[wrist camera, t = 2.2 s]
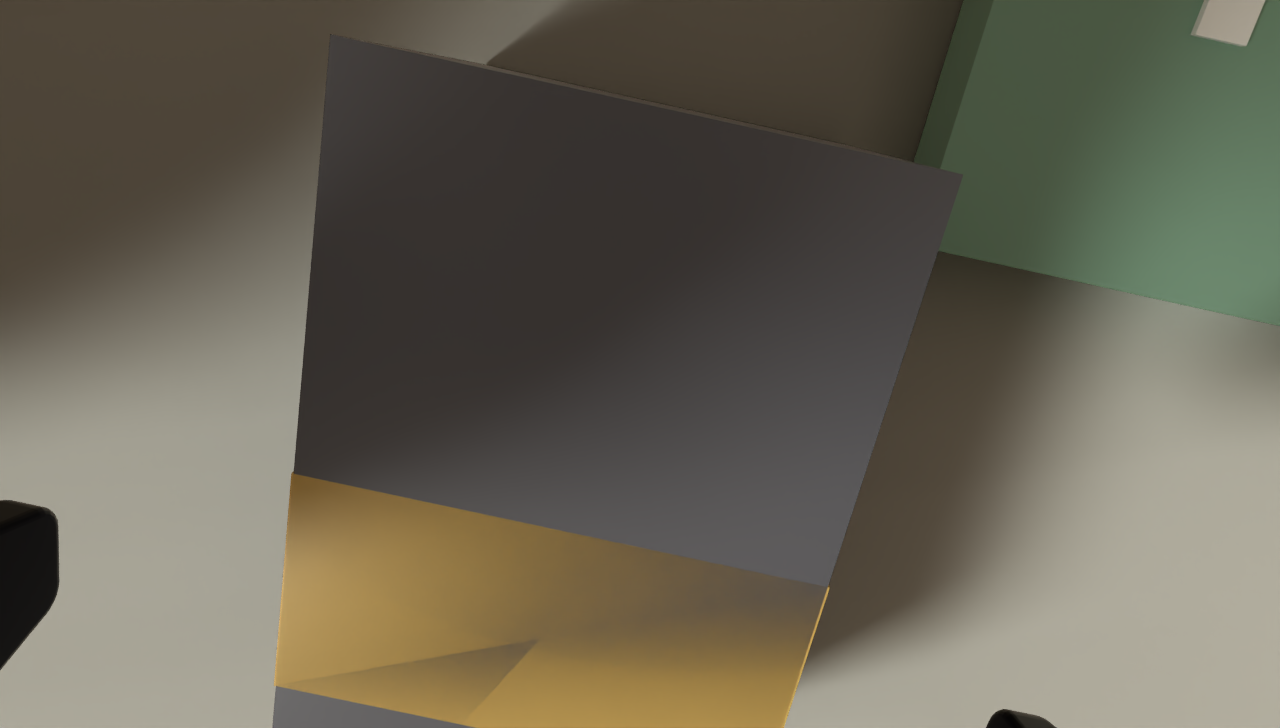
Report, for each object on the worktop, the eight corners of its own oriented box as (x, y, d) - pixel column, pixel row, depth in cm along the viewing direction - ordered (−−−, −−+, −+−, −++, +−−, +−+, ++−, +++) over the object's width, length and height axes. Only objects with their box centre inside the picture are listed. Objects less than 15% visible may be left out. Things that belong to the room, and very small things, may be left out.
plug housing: (397, 665, 14) (252, 952, 9) (481, 64, 11) (328, 32, 6) (681, 724, 14) (681, 1039, 9) (843, 144, 11) (965, 174, 6)
